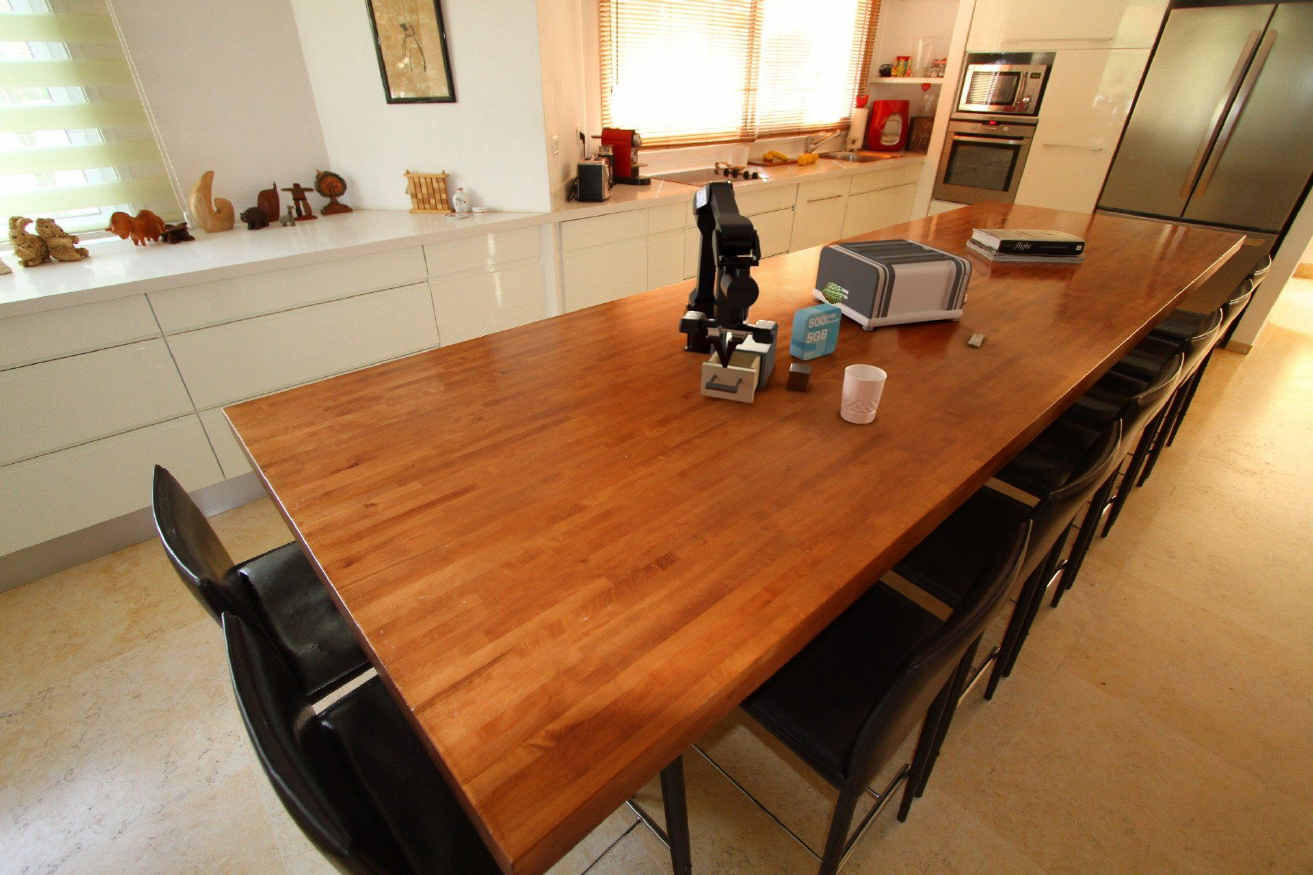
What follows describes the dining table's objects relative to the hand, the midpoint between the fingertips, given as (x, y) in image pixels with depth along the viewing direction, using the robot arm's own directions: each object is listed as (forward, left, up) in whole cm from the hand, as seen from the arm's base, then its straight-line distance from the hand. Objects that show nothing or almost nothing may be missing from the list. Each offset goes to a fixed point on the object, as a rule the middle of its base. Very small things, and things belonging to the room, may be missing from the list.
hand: (725, 367), depth 120 cm
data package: (+14, +37, -10) cm, 40 cm away
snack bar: (+54, +61, -10) cm, 82 cm away
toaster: (+31, +81, -10) cm, 87 cm away
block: (+13, +17, -10) cm, 23 cm away
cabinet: (0, +19, -10) cm, 21 cm away
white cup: (+27, +7, -10) cm, 29 cm away
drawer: (0, +6, -9) cm, 11 cm away
